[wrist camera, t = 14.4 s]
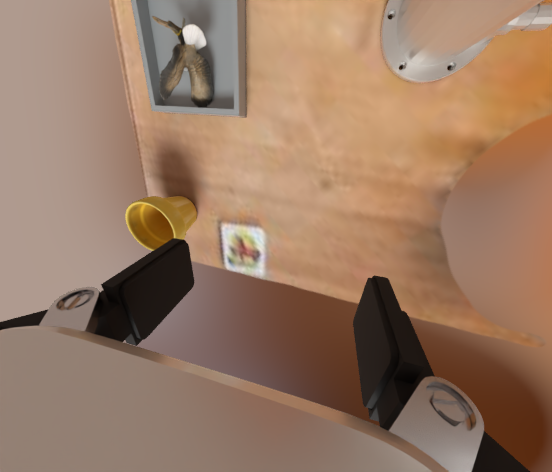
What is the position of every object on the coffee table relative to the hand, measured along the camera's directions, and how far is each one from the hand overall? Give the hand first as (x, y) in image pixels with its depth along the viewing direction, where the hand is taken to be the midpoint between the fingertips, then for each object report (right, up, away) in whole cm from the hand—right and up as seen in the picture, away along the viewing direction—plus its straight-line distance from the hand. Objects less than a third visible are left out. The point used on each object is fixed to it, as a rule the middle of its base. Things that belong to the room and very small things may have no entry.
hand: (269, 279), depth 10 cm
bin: (-12, +31, +21) cm, 39 cm away
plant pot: (-20, +8, +34) cm, 41 cm away
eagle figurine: (-12, +28, +21) cm, 37 cm away
